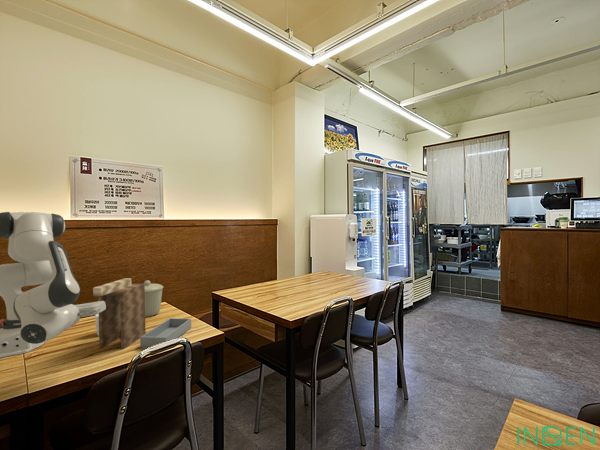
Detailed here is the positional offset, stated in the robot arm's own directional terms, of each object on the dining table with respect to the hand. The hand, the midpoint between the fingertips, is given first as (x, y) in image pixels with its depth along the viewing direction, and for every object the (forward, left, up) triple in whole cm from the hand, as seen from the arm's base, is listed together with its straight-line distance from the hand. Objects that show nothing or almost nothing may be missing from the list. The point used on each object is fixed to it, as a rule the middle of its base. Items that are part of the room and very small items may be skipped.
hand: (86, 304), depth 122 cm
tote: (+33, +1, -23) cm, 41 cm away
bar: (+12, +8, +3) cm, 14 cm away
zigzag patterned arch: (+16, +12, -23) cm, 31 cm away
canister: (+38, +46, -24) cm, 64 cm away
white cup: (+12, +30, -24) cm, 40 cm away
